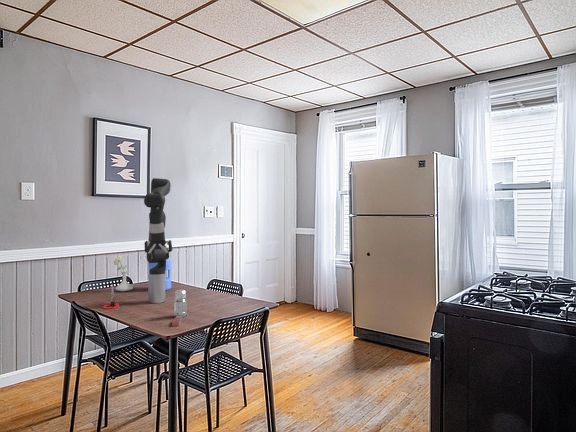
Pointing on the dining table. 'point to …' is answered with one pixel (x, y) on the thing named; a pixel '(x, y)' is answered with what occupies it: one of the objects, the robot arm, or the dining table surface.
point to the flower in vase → (124, 284)
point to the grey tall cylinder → (180, 301)
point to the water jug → (168, 267)
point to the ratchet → (178, 318)
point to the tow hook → (111, 301)
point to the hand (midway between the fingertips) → (159, 259)
